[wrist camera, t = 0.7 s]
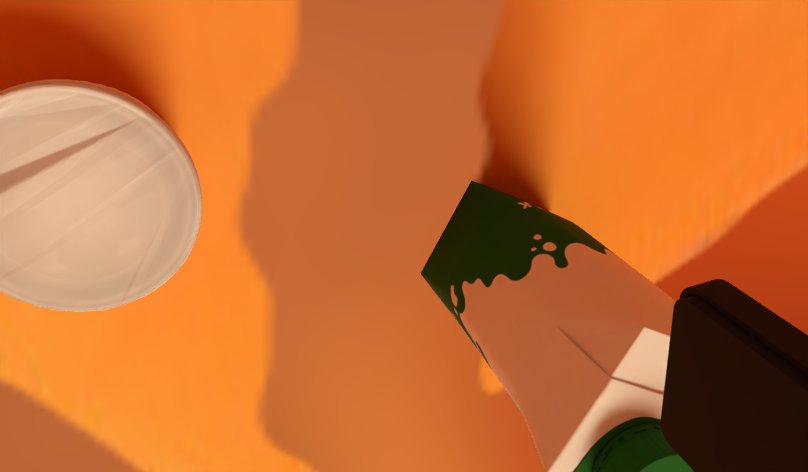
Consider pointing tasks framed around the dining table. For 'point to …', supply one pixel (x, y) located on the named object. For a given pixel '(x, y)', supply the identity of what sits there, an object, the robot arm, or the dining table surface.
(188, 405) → the dining table surface
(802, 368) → the robot arm
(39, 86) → the ramekin
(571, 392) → the milk carton
